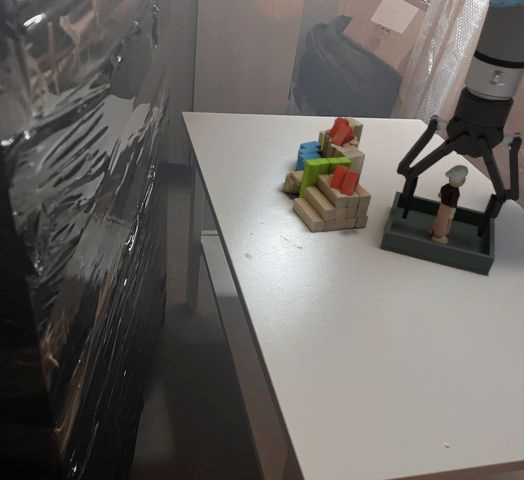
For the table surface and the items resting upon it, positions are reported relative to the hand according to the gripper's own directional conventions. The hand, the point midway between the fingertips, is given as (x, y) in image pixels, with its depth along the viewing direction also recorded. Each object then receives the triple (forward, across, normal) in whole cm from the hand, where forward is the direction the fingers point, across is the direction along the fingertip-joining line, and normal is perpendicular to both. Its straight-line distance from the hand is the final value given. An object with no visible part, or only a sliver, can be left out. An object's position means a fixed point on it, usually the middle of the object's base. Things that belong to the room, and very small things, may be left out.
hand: (441, 224), depth 98 cm
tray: (+3, 0, 0) cm, 3 cm away
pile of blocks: (+3, -23, +10) cm, 25 cm away
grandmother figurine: (+2, 0, 0) cm, 2 cm away
